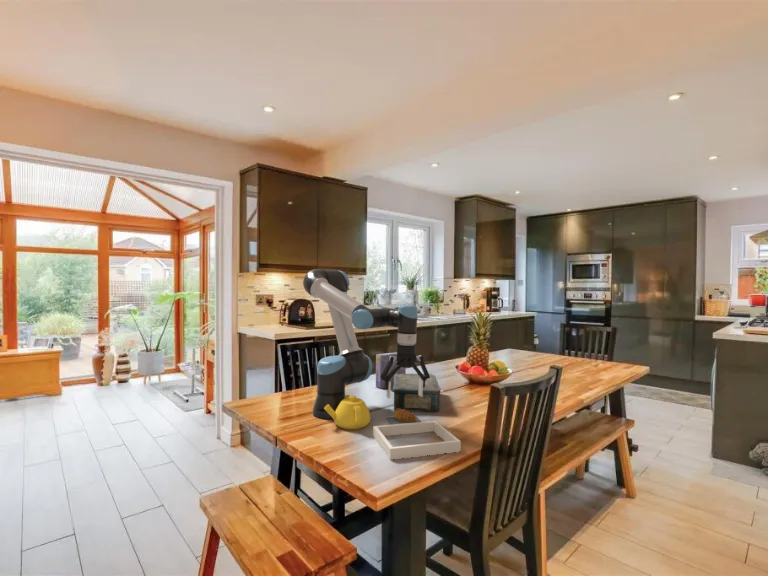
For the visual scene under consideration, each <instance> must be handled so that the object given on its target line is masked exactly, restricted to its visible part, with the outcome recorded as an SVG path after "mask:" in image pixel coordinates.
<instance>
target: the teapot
mask: <svg viewBox="0 0 768 576" xmlns="http://www.w3.org/2000/svg"><path fill="white" fill-rule="evenodd" d="M324 409H325V410H326V411H327V412H328V414H329V415H330V416H331V417H332V418H333V421H334V424H336V426H337V427H338V428H341V429H343V430H359V429H363V427H364V428H365V427H367V425H368V424H369V423H370V422H371V414H370V410H369V408H368V406H367V404H366V402H365V401H364V400H363V399H362V398H360V397H359V398H358V397H357V395H350V394H345V399H343V400H342V401H341V402H340V404H339V405H338V407H337V409H336V411H334V410H333V409H332V408H331V407H330V405H329V404H328V405H326V406H325V407H324Z"/></svg>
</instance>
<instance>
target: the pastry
mask: <svg viewBox="0 0 768 576" xmlns="http://www.w3.org/2000/svg"><path fill="white" fill-rule="evenodd" d="M392 416H393V417H394V418H395V419H397V420H399V421H403V422H414V421H415V420H416V417H417V416H416V415H415V414H414V412H413V411H408V410H405V409H400V408H397V409H396V410H395V411H394V412H393V414H392Z"/></svg>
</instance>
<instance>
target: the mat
mask: <svg viewBox="0 0 768 576" xmlns="http://www.w3.org/2000/svg"><path fill="white" fill-rule="evenodd" d="M386 420H387V421H388V422H389V423H390V425H393V424H405V423H416V422H423V421H422V420H420V418H418V416H416V420H415V421H414V422H403V421H399V420H397V419H395V418H394V417H393V415H392V416H386Z"/></svg>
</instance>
